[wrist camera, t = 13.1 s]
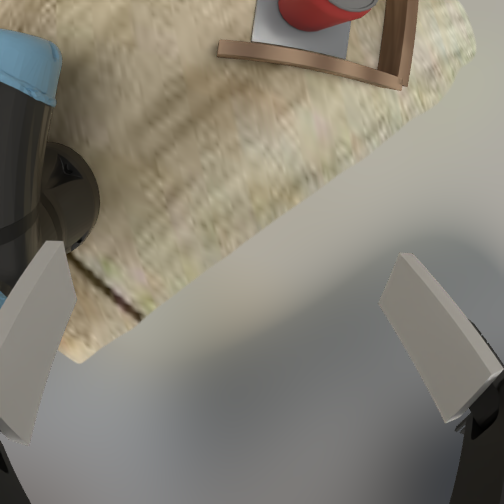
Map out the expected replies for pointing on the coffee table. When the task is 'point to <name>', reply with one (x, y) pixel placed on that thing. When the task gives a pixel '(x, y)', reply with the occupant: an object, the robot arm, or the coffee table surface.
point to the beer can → (322, 12)
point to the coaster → (297, 32)
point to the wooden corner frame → (389, 67)
